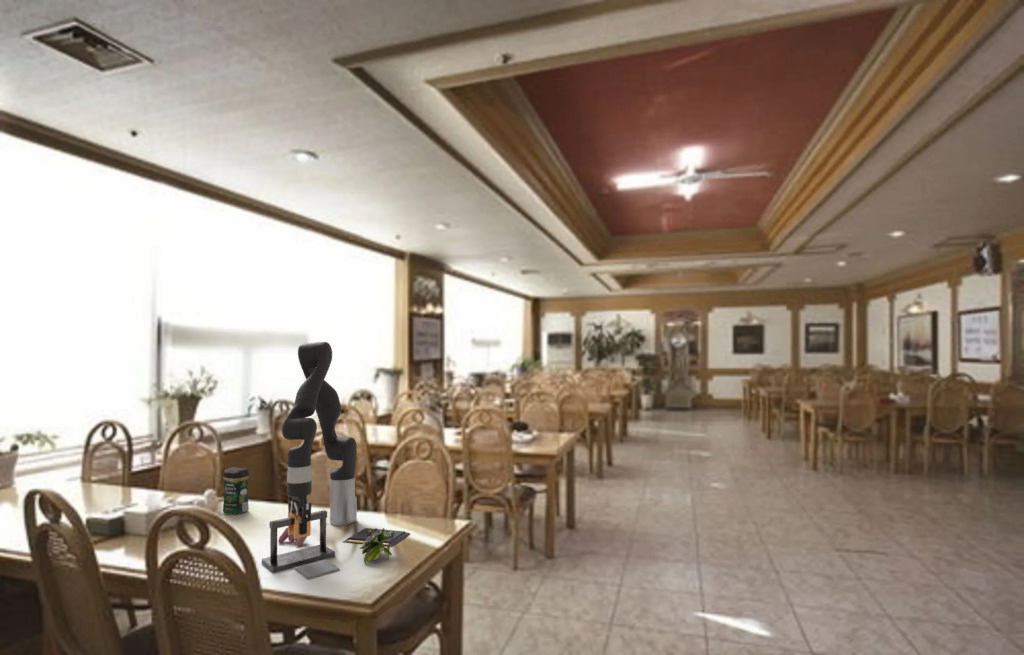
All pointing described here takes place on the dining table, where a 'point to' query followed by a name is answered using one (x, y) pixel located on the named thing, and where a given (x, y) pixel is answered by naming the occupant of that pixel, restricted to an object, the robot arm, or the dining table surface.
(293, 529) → the copper link
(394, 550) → the dining table surface
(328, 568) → the mat
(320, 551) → the hanger stand
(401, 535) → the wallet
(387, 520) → the dining table surface
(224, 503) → the coffee jar
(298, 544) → the pink animal figurine
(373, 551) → the green leafy plant
